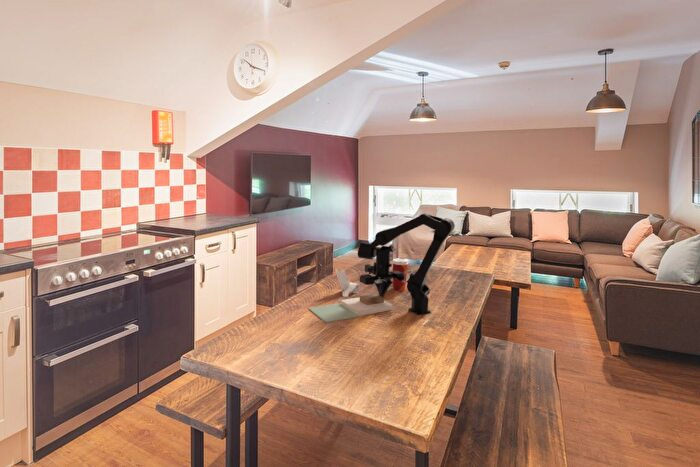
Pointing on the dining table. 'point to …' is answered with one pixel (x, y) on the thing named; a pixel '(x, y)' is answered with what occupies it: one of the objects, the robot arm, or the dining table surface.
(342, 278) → the plastic part
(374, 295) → the walnut tile
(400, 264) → the paper cup
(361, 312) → the deck
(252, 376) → the dining table surface
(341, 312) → the mat
